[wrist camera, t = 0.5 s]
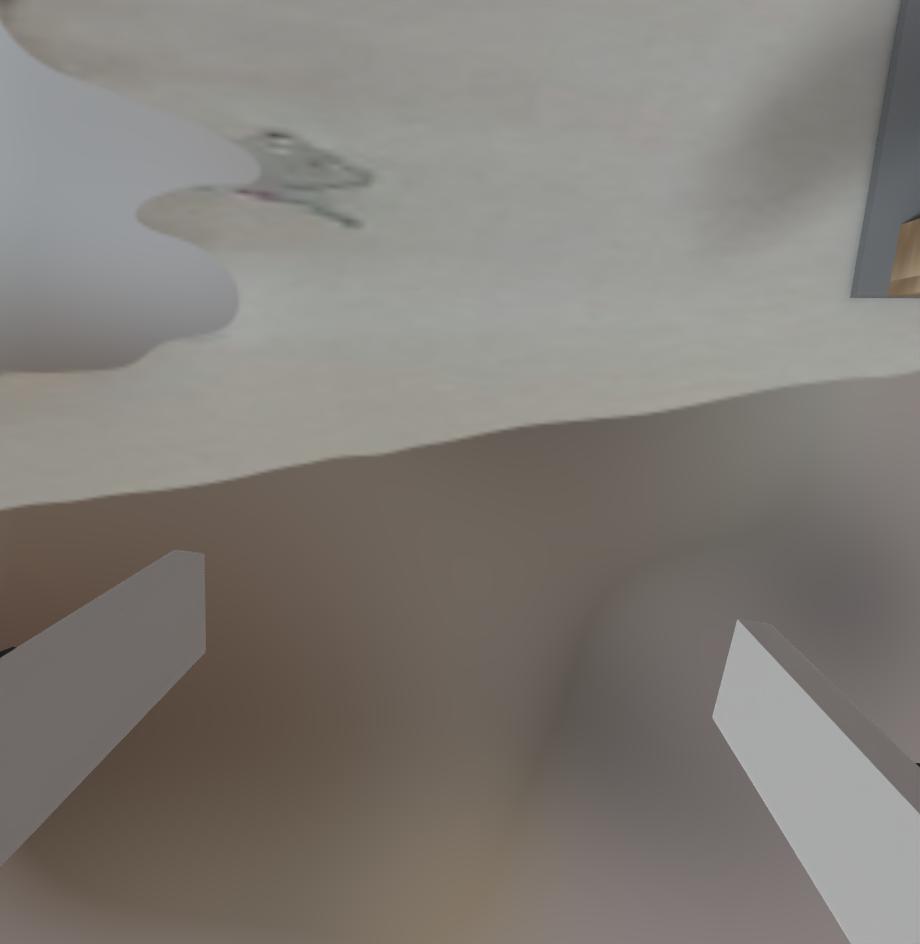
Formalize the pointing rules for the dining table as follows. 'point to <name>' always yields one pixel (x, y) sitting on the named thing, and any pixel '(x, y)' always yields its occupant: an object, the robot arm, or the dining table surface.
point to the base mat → (893, 163)
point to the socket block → (906, 262)
